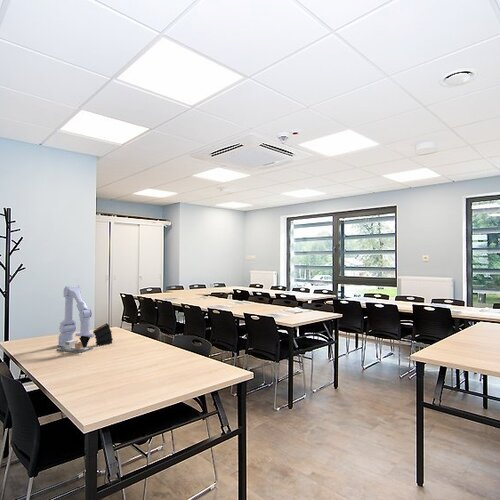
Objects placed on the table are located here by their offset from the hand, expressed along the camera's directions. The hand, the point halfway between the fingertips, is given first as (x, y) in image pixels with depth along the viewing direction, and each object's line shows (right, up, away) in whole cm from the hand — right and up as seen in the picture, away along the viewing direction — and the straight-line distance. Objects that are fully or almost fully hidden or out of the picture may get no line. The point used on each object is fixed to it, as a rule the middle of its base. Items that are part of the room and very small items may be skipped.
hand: (84, 347), depth 243 cm
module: (-11, -2, +3) cm, 11 cm away
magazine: (+4, -3, +20) cm, 20 cm away
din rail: (-8, -3, +3) cm, 9 cm away
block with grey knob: (-4, -1, +1) cm, 4 cm away
